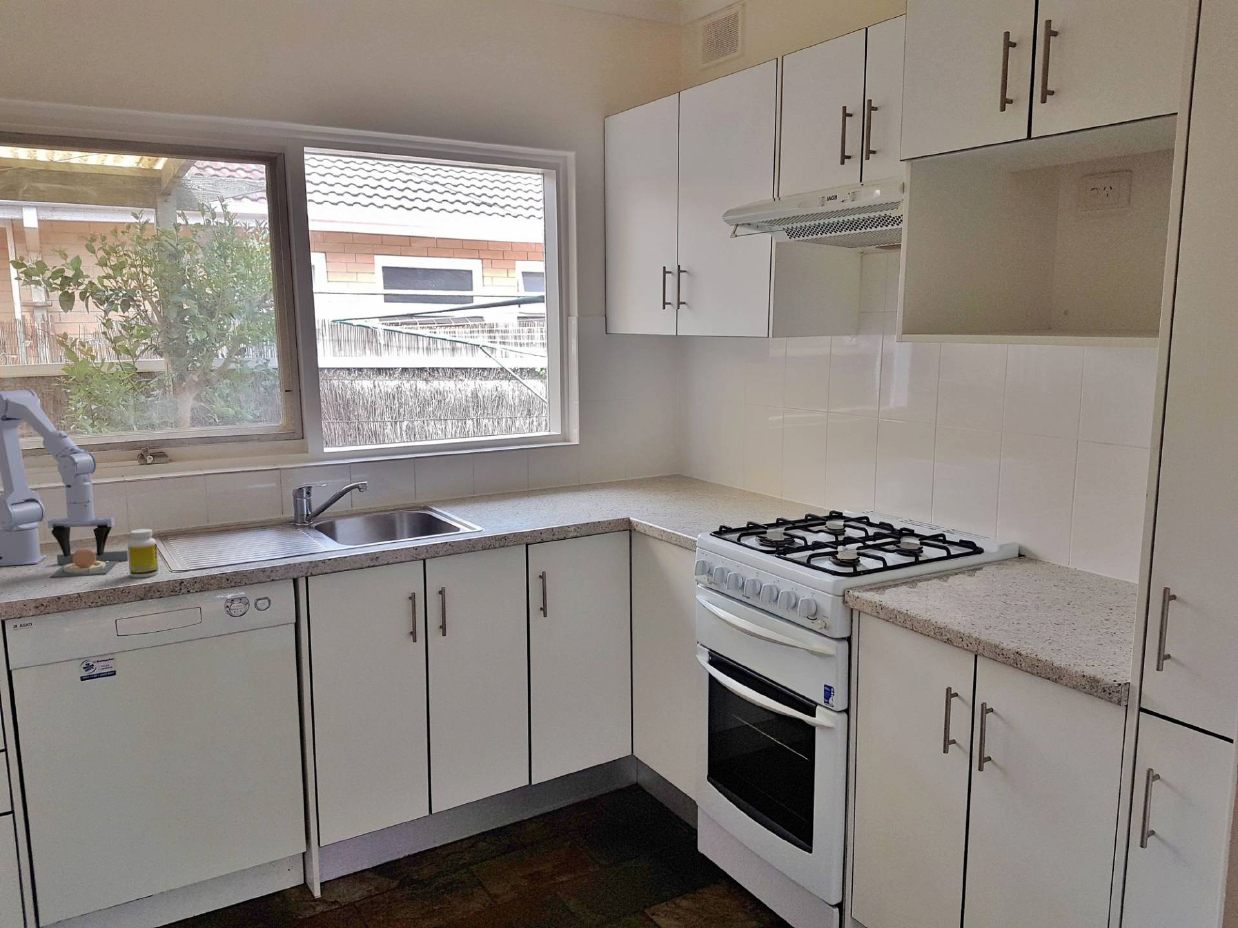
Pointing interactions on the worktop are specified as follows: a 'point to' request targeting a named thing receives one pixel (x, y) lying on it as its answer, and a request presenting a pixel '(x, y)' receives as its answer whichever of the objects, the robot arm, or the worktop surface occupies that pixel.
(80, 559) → the ball
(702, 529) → the worktop surface
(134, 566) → the pill bottle
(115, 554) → the acrylic wall
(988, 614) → the worktop surface
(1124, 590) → the worktop surface
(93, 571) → the slate mat
